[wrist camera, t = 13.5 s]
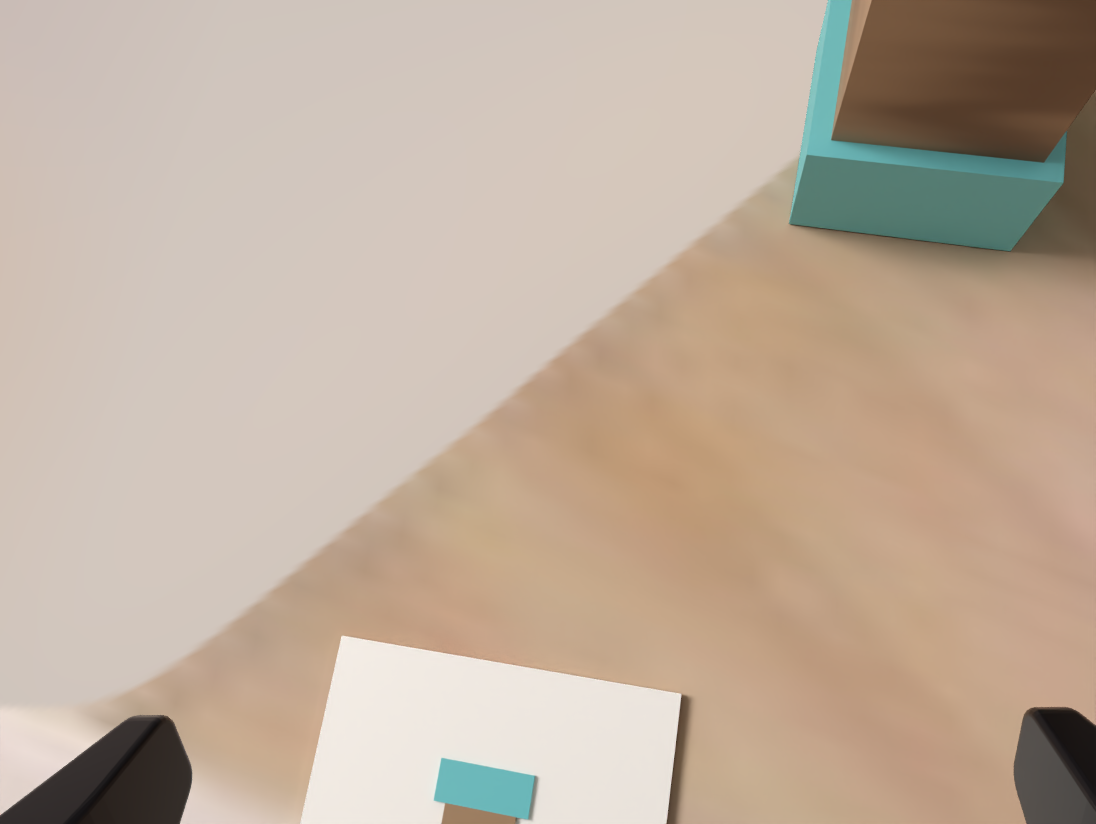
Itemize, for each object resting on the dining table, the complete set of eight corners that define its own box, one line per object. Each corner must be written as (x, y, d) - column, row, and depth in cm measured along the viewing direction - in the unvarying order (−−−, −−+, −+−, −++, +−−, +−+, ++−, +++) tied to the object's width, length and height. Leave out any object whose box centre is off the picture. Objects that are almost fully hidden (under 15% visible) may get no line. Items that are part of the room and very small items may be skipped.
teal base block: (1025, 69, 26) (1077, -21, 23) (1010, 251, 24) (1063, 183, 21) (816, 51, 27) (836, -38, 24) (789, 223, 26) (806, 154, 22)
